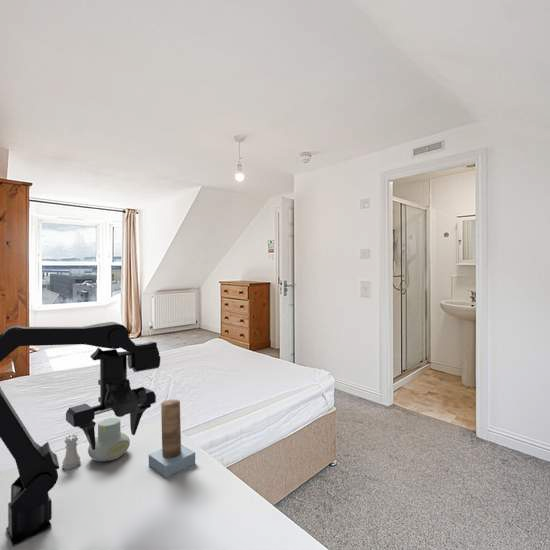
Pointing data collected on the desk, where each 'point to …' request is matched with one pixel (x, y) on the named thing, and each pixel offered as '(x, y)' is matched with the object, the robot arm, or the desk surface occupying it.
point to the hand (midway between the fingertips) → (114, 441)
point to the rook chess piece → (71, 453)
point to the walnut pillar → (171, 428)
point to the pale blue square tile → (171, 461)
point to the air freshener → (109, 441)
